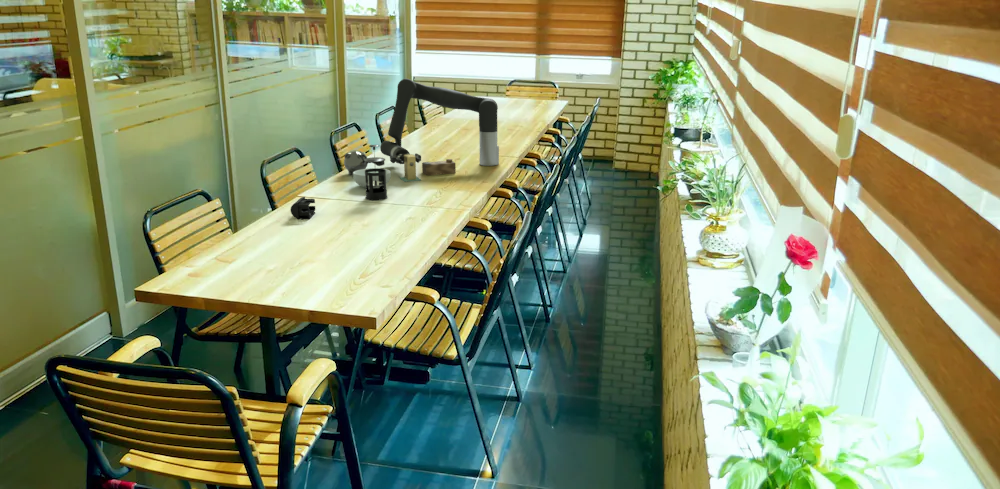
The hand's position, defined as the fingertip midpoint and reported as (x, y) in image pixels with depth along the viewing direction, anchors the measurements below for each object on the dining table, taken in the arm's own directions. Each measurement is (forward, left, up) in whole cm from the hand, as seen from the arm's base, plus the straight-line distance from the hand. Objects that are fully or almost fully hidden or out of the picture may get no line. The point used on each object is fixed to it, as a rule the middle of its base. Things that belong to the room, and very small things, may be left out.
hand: (409, 161), depth 358 cm
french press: (+23, +27, -9) cm, 37 cm away
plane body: (-17, -8, -9) cm, 21 cm away
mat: (0, 0, -9) cm, 9 cm away
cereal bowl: (+20, +7, -9) cm, 23 cm away
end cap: (+57, +44, -9) cm, 73 cm away
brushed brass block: (0, 0, -8) cm, 8 cm away
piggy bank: (+21, -20, -9) cm, 31 cm away
